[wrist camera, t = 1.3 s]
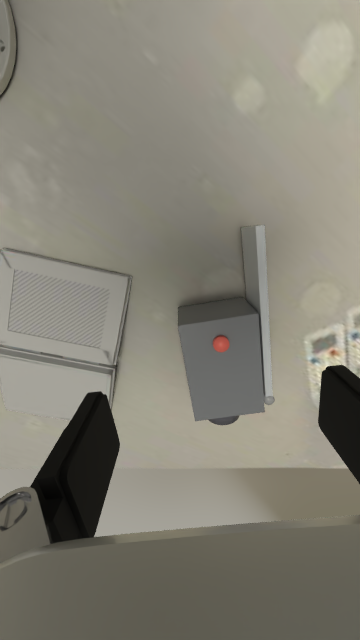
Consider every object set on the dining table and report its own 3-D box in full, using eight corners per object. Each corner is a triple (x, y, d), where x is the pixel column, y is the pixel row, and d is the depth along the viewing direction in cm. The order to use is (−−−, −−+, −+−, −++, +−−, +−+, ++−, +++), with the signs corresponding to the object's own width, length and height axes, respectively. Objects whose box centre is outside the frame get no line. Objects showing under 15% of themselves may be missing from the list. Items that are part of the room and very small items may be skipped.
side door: (239, 228, 27) (253, 226, 21) (253, 225, 27) (271, 223, 21) (251, 378, 33) (264, 405, 28) (262, 376, 33) (278, 403, 28)
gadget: (110, 420, 37) (103, 440, 33) (10, 403, 36) (-9, 421, 32) (133, 274, 29) (127, 280, 26) (7, 247, 28) (-18, 249, 25)
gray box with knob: (178, 307, 30) (177, 328, 23) (242, 296, 30) (260, 315, 23) (194, 399, 35) (197, 438, 28) (250, 391, 34) (267, 429, 28)
